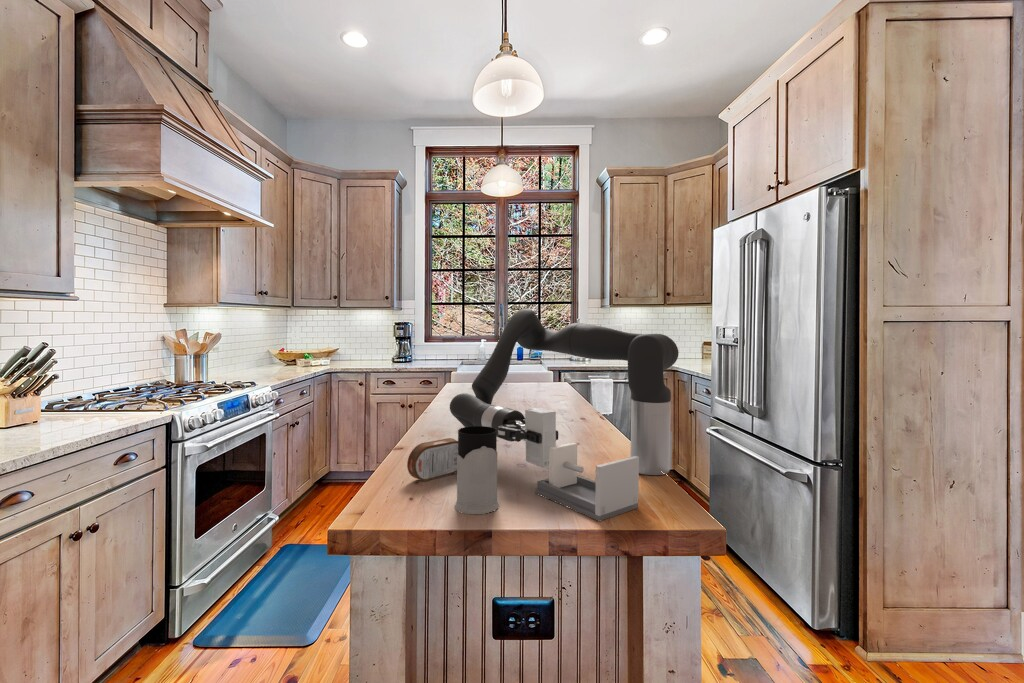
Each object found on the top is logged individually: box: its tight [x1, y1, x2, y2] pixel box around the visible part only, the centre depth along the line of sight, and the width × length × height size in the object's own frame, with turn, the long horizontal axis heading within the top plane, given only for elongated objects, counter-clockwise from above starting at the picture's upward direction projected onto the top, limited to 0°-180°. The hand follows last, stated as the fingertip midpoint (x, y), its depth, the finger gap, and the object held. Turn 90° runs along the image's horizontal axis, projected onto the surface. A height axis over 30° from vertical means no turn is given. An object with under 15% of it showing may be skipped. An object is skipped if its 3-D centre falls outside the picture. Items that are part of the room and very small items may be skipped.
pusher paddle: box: [548, 442, 585, 488], centre depth 104 cm, size 7×6×9 cm
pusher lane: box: [534, 456, 640, 522], centre depth 100 cm, size 11×18×10 cm, turn 37°
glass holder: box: [454, 426, 500, 515], centre depth 99 cm, size 9×14×15 cm, turn 22°
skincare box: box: [524, 407, 557, 468], centre depth 111 cm, size 6×4×12 cm
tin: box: [406, 437, 458, 482], centre depth 115 cm, size 15×3×8 cm, turn 134°
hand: (548, 437), depth 109 cm, fingers closed on skincare box, 4 cm apart
